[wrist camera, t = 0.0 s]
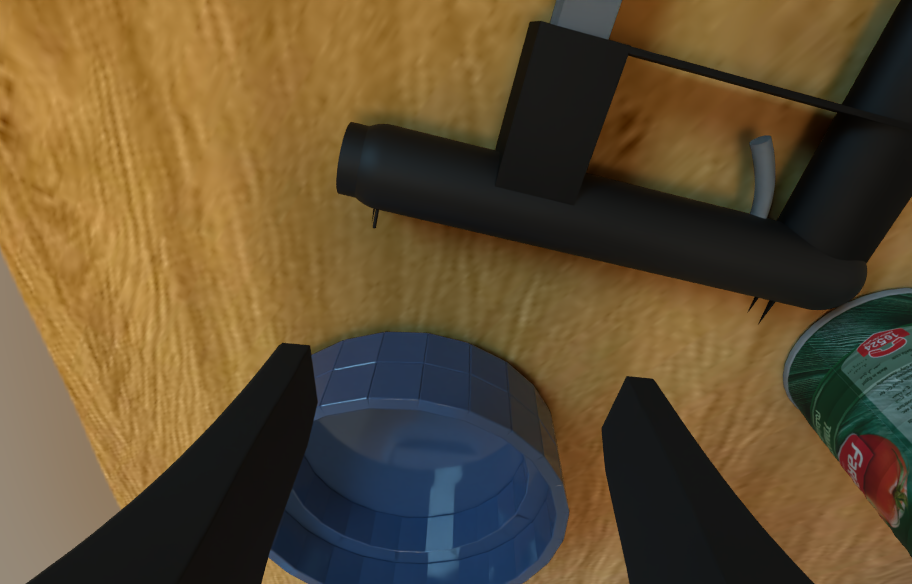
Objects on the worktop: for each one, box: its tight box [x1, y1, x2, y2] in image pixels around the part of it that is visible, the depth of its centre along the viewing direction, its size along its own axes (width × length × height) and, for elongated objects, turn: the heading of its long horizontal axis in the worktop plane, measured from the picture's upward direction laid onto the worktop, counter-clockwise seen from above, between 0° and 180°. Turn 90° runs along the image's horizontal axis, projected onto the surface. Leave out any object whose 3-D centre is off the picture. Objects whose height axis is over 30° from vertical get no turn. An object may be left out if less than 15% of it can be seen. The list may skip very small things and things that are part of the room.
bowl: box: [268, 332, 569, 584], centre depth 26 cm, size 15×15×5 cm
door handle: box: [336, 0, 912, 324], centre depth 17 cm, size 3×20×16 cm
